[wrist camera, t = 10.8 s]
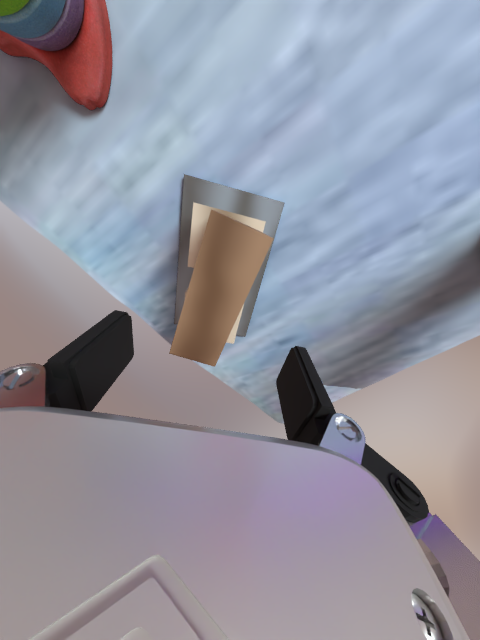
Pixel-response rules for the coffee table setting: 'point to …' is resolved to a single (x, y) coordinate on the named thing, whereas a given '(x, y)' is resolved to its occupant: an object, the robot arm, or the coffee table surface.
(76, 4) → the stacking bear
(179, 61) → the coffee table surface
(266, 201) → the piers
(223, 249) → the lintel
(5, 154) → the coffee table surface
